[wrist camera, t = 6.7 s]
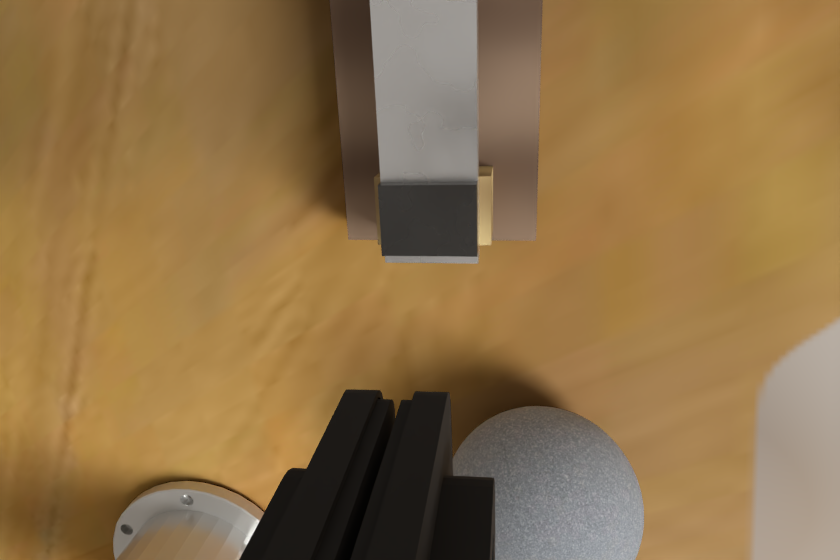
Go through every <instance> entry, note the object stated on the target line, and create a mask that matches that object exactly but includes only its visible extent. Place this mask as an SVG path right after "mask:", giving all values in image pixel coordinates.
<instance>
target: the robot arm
mask: <svg viewBox="0 0 840 560" xmlns="http://www.w3.org/2000/svg"><path fill="white" fill-rule="evenodd" d="M113 553H114V557H115V560H495V479H494V478H492V477H471V476H453V456H452V429H451V403H450V394H449V392H420V391H416V392H415V393H414V396H413V399H412V400H402V401H401V403H400V406H399V409H398V412H397V416H396V419H395V408H394V402H393V400H388V399H383V396H382V393H381V391H380V390H346V391H345V392H344V394H343V396H342V398H341V400H340V402H339V404H338V406H337V408H336V410H335V412H334V414H333V416H332V418H331V420H330V422H329V424H328V426H327V429H326V431H325V433H324V435H323V437H322V439H321V441H320V443H319V445H318V447H317V449H316V451H315V453H314V455H313V457H312V459H311V461H310V463H309V465H308V467H307V469H302V468H292V469H290V470H288V471H287V473H286V474H285V475H284V477H283V479H282V481H281V483H280V484H279V486H278V488H277V490H276V492H275V494H274V496H273V497H272V499H271V501H270V503H269V505H268V507H267V509H266V510H265V512H263V511H262V510H261V509H260V508H258V507H257V506H256V505H255V504H253V503H252V502H250V501H248V500H247V499H245V498H244V497H242V496H240V495H238V494H236V493H234V492H232V491H229V490H227V489H225V488H222V487H219V486H215V485H211V484H207V483H202V482H193V481H178V482H169V483H165V484H161V485H157V486H154V487H152V488H150V489H148V490H146V491H144V492H143V493H141V494H140V495H139V496H138V497H137V498H136V499H134V500H133V501H132V502H131V504H130V505H129V506H128V507H127V509H126V510H125V511H124V512H123V513H122V514H121V516H120V518H119V520H118V522H117V524H116V527H115V531H114V536H113Z"/></svg>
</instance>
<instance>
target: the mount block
mask: <svg viewBox="0 0 840 560" xmlns="http://www.w3.org/2000/svg"><path fill="white" fill-rule="evenodd" d="M330 11H331V24H332V37H333V49H334V62H335V75H336V87H337V100H338V113H339V125H340V138H341V151H342V163H343V176H344V189H345V201H346V214H347V227H348V239H349V240H378V244H381V231H380V215H379V199H378V185H379V183H380V182H381V181H380V164H379V148H378V131H377V114H376V98H375V81H374V65H373V48H372V32H371V15H370V0H330ZM541 35H542V0H478V79H479V245H491V241H492V240H529V241H536V221H537V184H538V147H539V109H540V72H541Z"/></svg>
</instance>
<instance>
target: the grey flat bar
mask: <svg viewBox="0 0 840 560" xmlns="http://www.w3.org/2000/svg"><path fill="white" fill-rule="evenodd" d="M370 15H371V32H372V48H373V65H374V81H375V98H376V114H377V131H378V148H379V164H380V181H381V182H380V183H379V185H378V199H379V215H380V231H381V248H382V256H385V262H392V263H478V262H479V79H478V0H370Z"/></svg>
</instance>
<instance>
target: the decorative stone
mask: <svg viewBox="0 0 840 560" xmlns="http://www.w3.org/2000/svg"><path fill="white" fill-rule="evenodd" d="M453 476H471V477H492V478H494V479H495V560H635V558H636V556H637V554H638V551H639V547H640V544H641V540H642V535H643V526H644V508H643V500H642V495H641V490H640V487H639V483H638V481H637V478H636V475H635V473H634V471H633V469H632V467H631V465H630V463H629V461H628V459H627V458H626V456H625V455H624V453H623V452H622V450H621V449H620V448H619V447H618V445H617V444H616V443H615V442H614V441H613V440H612V439H611V438H610V437H609V436H608V435H607V434H606V433H605V432H604V431H603V430H602V429H601V428H599V427H598V426H597V425H595V424H594V423H592V422H591V421H589V420H587V419H586V418H584V417H582V416H580V415H577V414H575V413H572V412H569V411H566V410H563V409H559V408H555V407H547V406H526V407H519V408H515V409H511V410H508V411H505V412H502V413H500V414H497V415H495V416H493V417H491V418H490V419H488V420H486V421H485V422H483V423H482V424H480V425H479V426H478V427H477V428H475V429H474V430H473V431H472V432H471V433H470V434H469V435H468V436H467V438H466V439H465V440H464V441H463V442H462V444H461V445H460V447H459V448H458V450H457V452H456V453H455V455H454V457H453Z"/></svg>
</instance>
